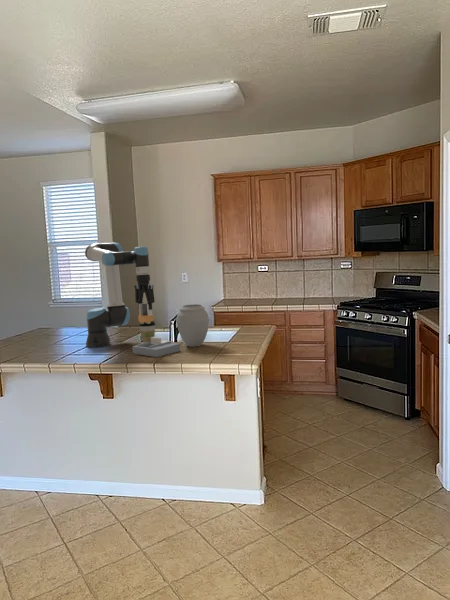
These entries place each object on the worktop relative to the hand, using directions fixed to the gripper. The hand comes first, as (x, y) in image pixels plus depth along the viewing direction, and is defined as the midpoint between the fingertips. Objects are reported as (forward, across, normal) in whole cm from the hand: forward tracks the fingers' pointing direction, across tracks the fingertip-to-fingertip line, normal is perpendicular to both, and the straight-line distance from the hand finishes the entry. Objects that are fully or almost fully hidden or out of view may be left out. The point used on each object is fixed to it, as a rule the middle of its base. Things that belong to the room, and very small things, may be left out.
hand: (145, 315), depth 261 cm
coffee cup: (+22, -14, +13) cm, 29 cm away
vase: (+22, +11, +27) cm, 36 cm away
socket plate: (+22, +2, +4) cm, 22 cm away
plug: (+5, 0, 0) cm, 5 cm away
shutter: (+18, 0, +9) cm, 20 cm away
